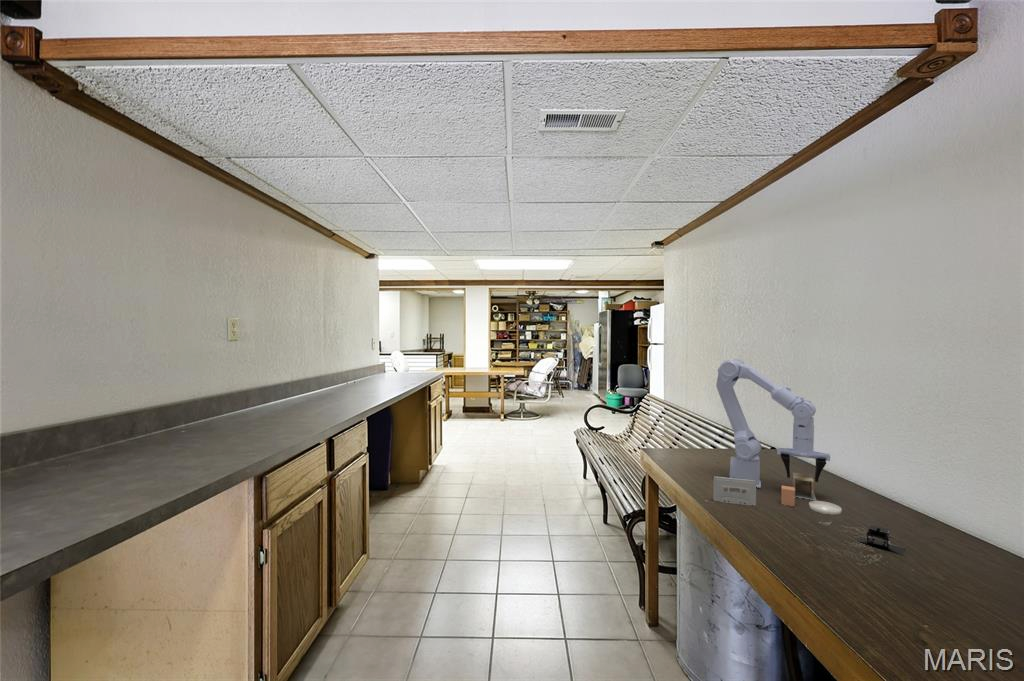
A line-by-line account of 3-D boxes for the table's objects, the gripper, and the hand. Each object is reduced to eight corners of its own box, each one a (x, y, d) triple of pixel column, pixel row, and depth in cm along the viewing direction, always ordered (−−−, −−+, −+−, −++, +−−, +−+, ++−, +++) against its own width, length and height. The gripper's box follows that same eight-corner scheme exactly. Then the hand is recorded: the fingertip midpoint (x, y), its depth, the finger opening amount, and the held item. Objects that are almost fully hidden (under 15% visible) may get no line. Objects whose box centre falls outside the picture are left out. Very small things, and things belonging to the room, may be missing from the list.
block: (781, 504, 137) (781, 488, 137) (781, 501, 140) (781, 485, 140) (794, 506, 135) (794, 490, 135) (793, 503, 138) (794, 487, 138)
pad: (790, 496, 144) (790, 496, 144) (789, 490, 150) (789, 489, 150) (816, 500, 140) (816, 500, 140) (814, 493, 146) (814, 493, 146)
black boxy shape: (844, 542, 113) (845, 525, 113) (851, 534, 118) (851, 517, 118) (909, 561, 104) (910, 541, 104) (913, 550, 109) (913, 532, 109)
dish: (810, 511, 132) (810, 507, 132) (807, 502, 139) (807, 498, 138) (843, 517, 128) (843, 512, 128) (839, 507, 135) (839, 503, 134)
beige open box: (793, 496, 143) (793, 477, 143) (792, 490, 149) (792, 472, 149) (813, 499, 141) (813, 480, 141) (811, 493, 146) (811, 475, 146)
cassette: (713, 501, 139) (713, 477, 139) (713, 499, 141) (713, 475, 141) (756, 506, 135) (756, 481, 135) (755, 504, 137) (755, 480, 137)
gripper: (777, 437, 145) (776, 478, 145) (831, 443, 138) (830, 486, 138) (777, 433, 151) (776, 472, 151) (829, 438, 144) (828, 480, 144)
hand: (802, 479), depth 145 cm, fingers open, 7 cm apart
